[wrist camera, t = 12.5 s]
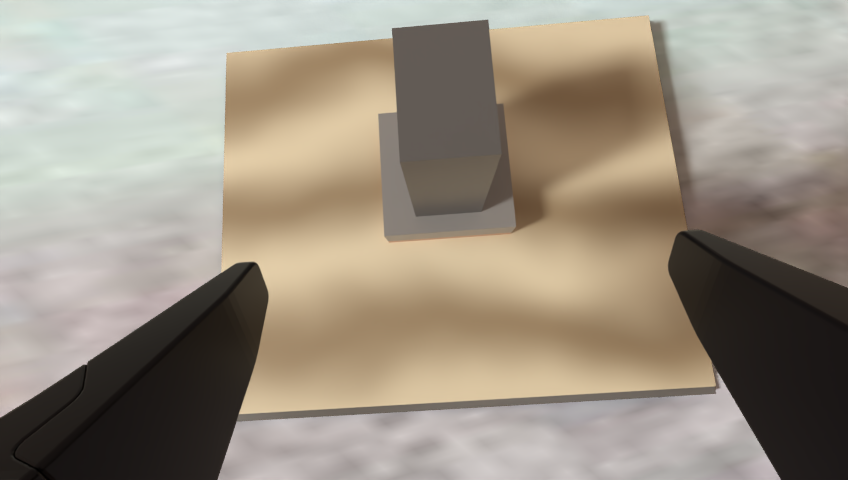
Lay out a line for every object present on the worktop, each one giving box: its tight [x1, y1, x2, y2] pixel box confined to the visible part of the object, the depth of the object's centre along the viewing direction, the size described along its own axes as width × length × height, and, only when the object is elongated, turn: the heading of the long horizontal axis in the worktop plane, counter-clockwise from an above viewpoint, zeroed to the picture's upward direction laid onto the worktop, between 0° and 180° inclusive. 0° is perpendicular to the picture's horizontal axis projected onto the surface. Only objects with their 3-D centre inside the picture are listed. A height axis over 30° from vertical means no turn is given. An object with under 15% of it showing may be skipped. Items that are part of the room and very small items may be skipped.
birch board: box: [221, 15, 716, 421], centre depth 22 cm, size 20×24×1 cm
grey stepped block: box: [378, 20, 516, 243], centre depth 18 cm, size 6×6×9 cm
